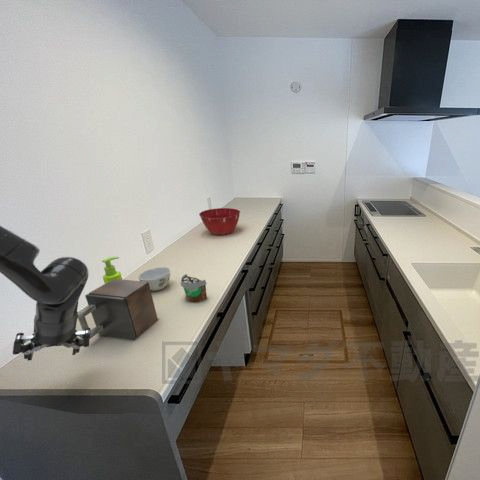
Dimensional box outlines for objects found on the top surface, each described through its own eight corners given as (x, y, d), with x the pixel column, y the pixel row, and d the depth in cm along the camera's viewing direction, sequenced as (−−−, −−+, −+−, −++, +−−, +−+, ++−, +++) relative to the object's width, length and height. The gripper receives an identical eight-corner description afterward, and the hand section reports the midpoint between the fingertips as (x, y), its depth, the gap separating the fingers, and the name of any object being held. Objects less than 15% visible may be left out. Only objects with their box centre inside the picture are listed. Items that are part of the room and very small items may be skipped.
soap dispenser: (133, 298, 115) (121, 257, 108) (116, 307, 109) (103, 263, 102) (125, 295, 117) (113, 254, 110) (108, 303, 111) (94, 260, 104)
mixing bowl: (247, 227, 210) (245, 208, 205) (233, 239, 184) (230, 218, 178) (213, 225, 213) (211, 207, 207) (194, 237, 186) (191, 216, 181)
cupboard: (137, 338, 92) (125, 297, 86) (102, 333, 94) (88, 293, 88) (158, 320, 101) (148, 281, 95) (126, 316, 103) (114, 278, 97)
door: (121, 352, 86) (107, 309, 80) (84, 346, 88) (68, 304, 82) (136, 338, 92) (124, 297, 86) (102, 334, 94) (87, 293, 88)
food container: (177, 300, 114) (173, 279, 111) (189, 293, 119) (185, 273, 116) (197, 307, 109) (193, 286, 106) (209, 299, 114) (205, 279, 111)
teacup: (154, 280, 130) (151, 266, 127) (178, 282, 128) (175, 267, 126) (131, 297, 116) (126, 281, 113) (158, 299, 114) (154, 283, 112)
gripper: (7, 339, 58) (10, 373, 65) (92, 332, 67) (86, 362, 75) (17, 310, 62) (18, 345, 70) (95, 307, 71) (89, 338, 79)
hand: (53, 354), depth 72 cm, fingers open, 8 cm apart
